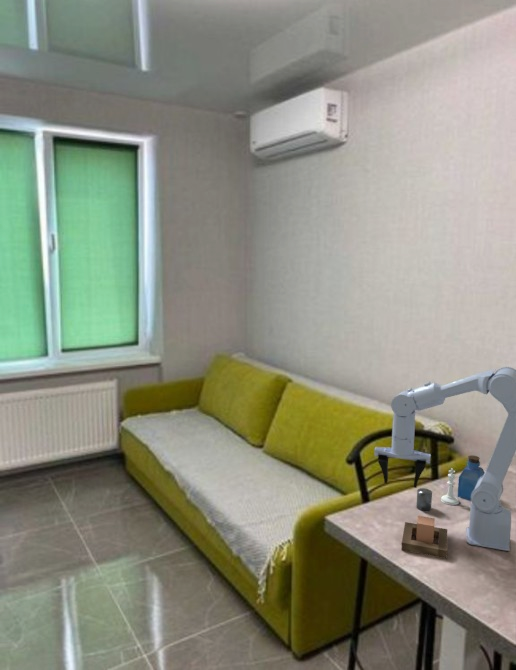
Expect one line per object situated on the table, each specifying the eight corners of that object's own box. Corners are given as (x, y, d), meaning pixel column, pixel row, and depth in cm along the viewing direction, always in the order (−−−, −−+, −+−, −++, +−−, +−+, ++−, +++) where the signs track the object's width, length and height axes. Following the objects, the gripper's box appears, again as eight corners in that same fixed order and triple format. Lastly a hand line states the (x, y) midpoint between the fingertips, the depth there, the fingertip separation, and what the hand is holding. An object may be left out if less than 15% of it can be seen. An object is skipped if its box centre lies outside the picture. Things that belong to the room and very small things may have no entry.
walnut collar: (446, 536, 133) (447, 529, 132) (446, 558, 123) (447, 550, 123) (404, 529, 136) (405, 521, 136) (401, 550, 126) (401, 542, 126)
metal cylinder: (431, 506, 149) (432, 489, 148) (430, 512, 145) (431, 495, 144) (416, 503, 150) (417, 487, 149) (416, 510, 146) (416, 493, 146)
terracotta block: (433, 540, 131) (434, 518, 130) (432, 548, 127) (434, 526, 126) (416, 537, 132) (417, 515, 131) (415, 545, 128) (417, 523, 127)
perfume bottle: (463, 489, 160) (465, 451, 158) (484, 494, 156) (487, 456, 154) (457, 496, 155) (460, 458, 153) (479, 502, 151) (482, 463, 149)
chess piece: (460, 505, 149) (462, 472, 147) (442, 504, 150) (444, 471, 148) (457, 498, 154) (459, 466, 152) (439, 496, 155) (441, 464, 153)
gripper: (431, 434, 140) (428, 481, 142) (377, 428, 145) (375, 474, 147) (431, 443, 134) (428, 492, 136) (374, 436, 138) (372, 484, 141)
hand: (400, 483), depth 141 cm, fingers open, 7 cm apart
